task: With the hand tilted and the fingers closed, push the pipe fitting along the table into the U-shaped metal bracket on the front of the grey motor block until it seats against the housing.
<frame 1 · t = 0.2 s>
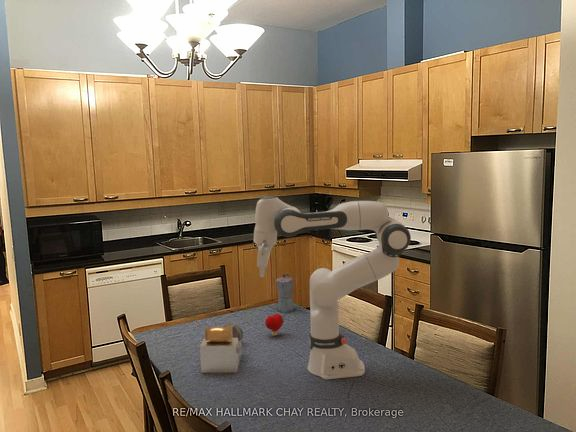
hand: (262, 273, 189), 39 cm above the table, fingers open, 8 cm apart
red heart ornament: (274, 336, 228), on the table
pipe fitting: (229, 345, 219), on the table
moka pot: (285, 310, 265), on the table
motor: (222, 363, 200), on the table
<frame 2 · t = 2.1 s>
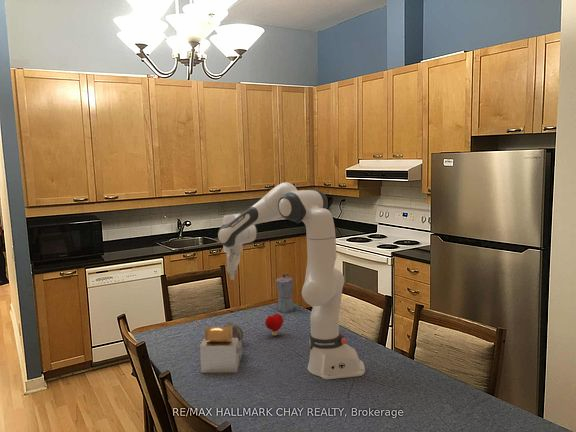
hand: (233, 276, 227), 28 cm above the table, fingers open, 8 cm apart
nothing on the table moved.
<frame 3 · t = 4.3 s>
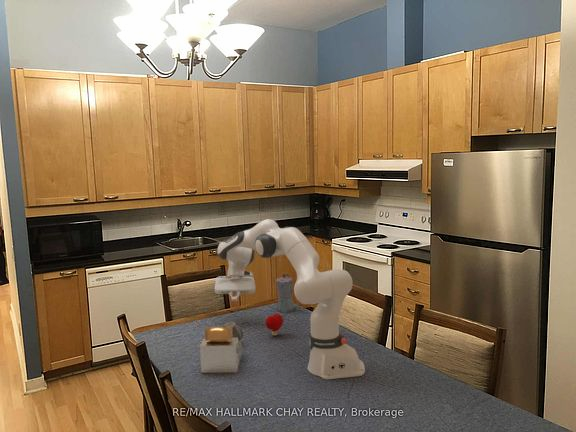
hand: (234, 300, 238), 14 cm above the table, fingers closed
nothing on the table moved.
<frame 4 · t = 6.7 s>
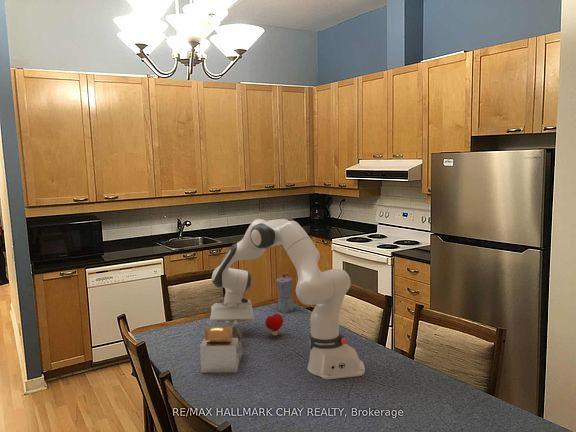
hand: (231, 330, 225), 4 cm above the table, fingers closed
pipe fitting: (229, 345, 219), on the table, touching gripper
everything else where it was.
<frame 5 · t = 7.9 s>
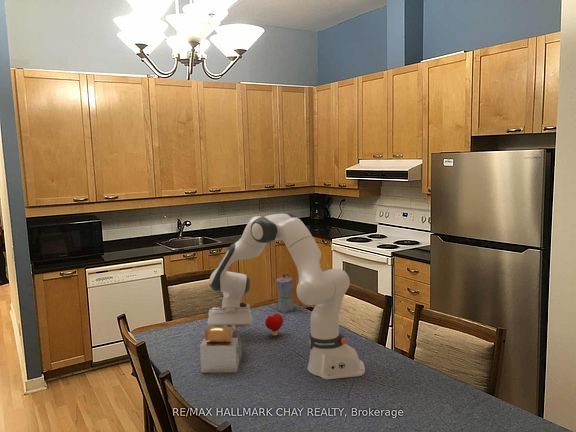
hand: (229, 335, 219), 4 cm above the table, fingers closed
pipe fitting: (228, 351, 212), on the table, touching gripper
everything else where it was.
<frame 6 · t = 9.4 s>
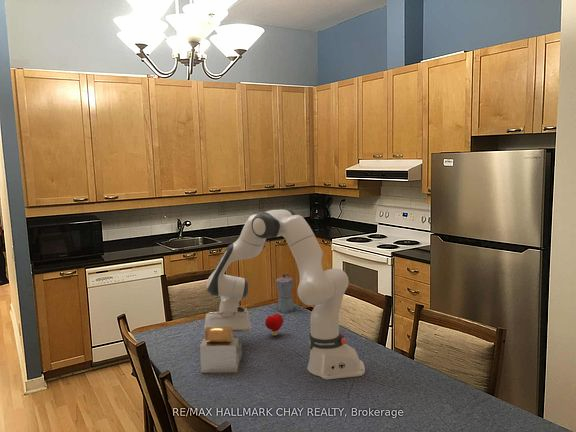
hand: (226, 341, 212), 4 cm above the table, fingers closed, pressing on pipe fitting
pipe fitting: (227, 357, 206), on the table, touching gripper, motor
everything else where it was.
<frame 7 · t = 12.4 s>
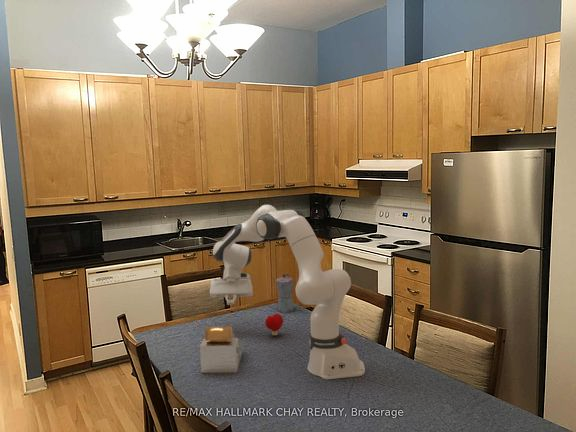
hand: (230, 304, 226), 16 cm above the table, fingers closed
pipe fitting: (227, 357, 206), on the table
everything else where it was.
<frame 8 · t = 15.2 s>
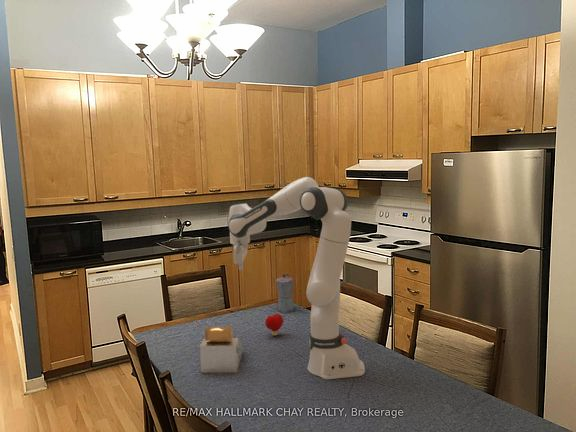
hand: (241, 269, 221), 33 cm above the table, fingers closed
nothing on the table moved.
at the end: pipe fitting inside the target area on the motor (1.4 cm from its centre), point 0.0 cm above the motor's base; pipe fitting moved 12.9 cm from its start; pipe fitting tilted 0° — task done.
